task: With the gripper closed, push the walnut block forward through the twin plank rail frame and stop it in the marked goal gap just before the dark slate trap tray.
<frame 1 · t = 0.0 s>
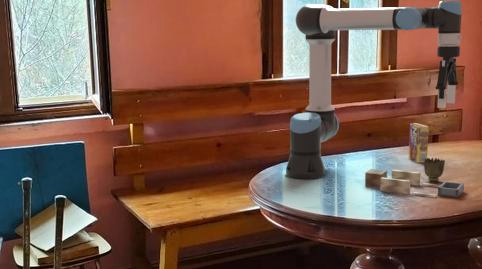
hand: (446, 105, 223), 28 cm above the table, fingers open, 13 cm apart
candy box: (417, 161, 261), on the table
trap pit: (450, 193, 213), on the table
twin plank rail frame: (400, 187, 221), on the table
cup: (433, 181, 229), on the table
block: (375, 185, 226), on the table
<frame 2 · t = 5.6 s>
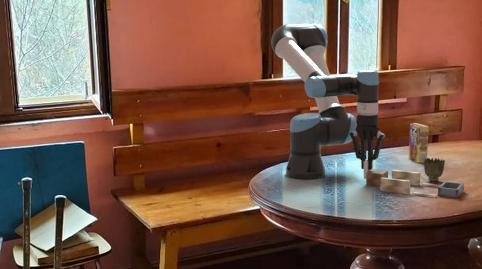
hand: (366, 178, 227), 2 cm above the table, fingers closed
block: (376, 184, 226), on the table, touching gripper
everything else where it was.
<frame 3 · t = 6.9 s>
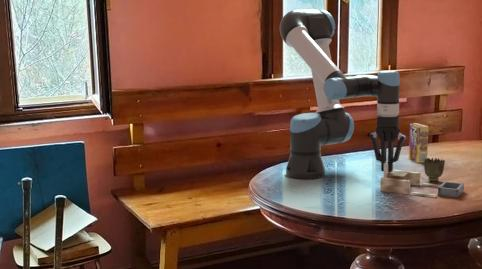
hand: (386, 180, 223), 2 cm above the table, fingers closed
block: (397, 187, 222), on the table, touching gripper
everything else where it was.
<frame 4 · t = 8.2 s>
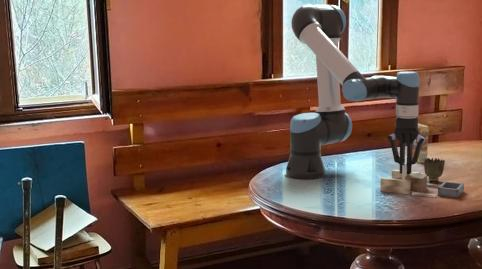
hand: (405, 182, 220), 2 cm above the table, fingers closed
block: (415, 189, 219), on the table, touching gripper
everything else where it was.
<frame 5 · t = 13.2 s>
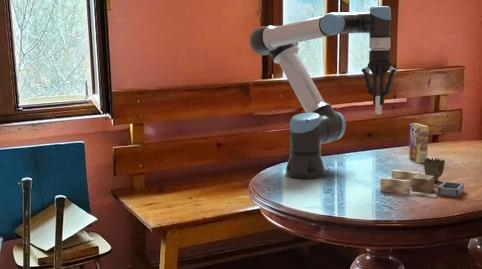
hand: (378, 113, 231), 24 cm above the table, fingers closed
block: (422, 190, 218), on the table
everything else where it was.
at the end: block inside the target area (2.1 cm from its centre), on the table; block tilted 0°; block touching table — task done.
